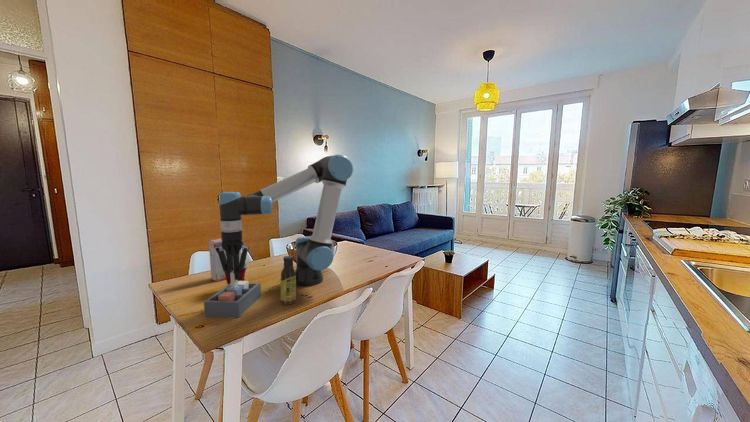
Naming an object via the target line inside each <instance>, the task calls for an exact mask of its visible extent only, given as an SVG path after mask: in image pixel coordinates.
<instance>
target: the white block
mask: <svg viewBox="0 0 750 422" xmlns="http://www.w3.org/2000/svg"><path fill="white" fill-rule="evenodd" d="M249 283H250V281H249V280H244V281H238V286H242V289H249Z"/></svg>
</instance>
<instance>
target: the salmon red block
mask: <svg viewBox="0 0 750 422" xmlns="http://www.w3.org/2000/svg"><path fill="white" fill-rule="evenodd" d="M218 301H235V293H234V292H223V293H222V294H220V295H219V296H218Z"/></svg>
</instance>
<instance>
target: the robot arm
mask: <svg viewBox="0 0 750 422" xmlns="http://www.w3.org/2000/svg"><path fill="white" fill-rule="evenodd" d="M353 172H354V167H353V162H352V161H351V159H350V158H349V157H348V156H347V155H343V154H334V155H328V156H327V155H326V156H324V157H321V159H319V160H318V161H315V162H314V163H312V164H309V165H308V166H307V168H306V169H304V170H302V171H299V172H297V173H294V174H293V175H291V176H287V177H286V178H284V179H282V180H279V181H277V182H275V183H273V184H270V185H268V186H266V187H264V188H261V189H260V190H258V191H255V192H253V193H249V194H247V195H245V196H242V195H241V192H240V191H239V192H238V191H224V192H223V191H222V192H221V193H220V194H219V198H218V199H219V201H218V202H219V219H220V220H219V221H220V230H221V233H220V235H221V236H220V238H221V240H222V243H221V246H220V247H218V248H216V249H215V250H216V251H217V253H218V255H219V258H220V261H221V265H222V268H223V271H227V272H228V278H229V280H231V288H236V287H237V286H238V279H239V278H240V276H239V271H241V270H243V269H244V266H245V263H246V260H247V255H248V252H249V250H250V246H245V245H244V242H243V231H242V229H243V225H242V216H251V215H253V216H254V215H268V214H271V213H272V212H273V203H275V202H276V201H278V200H280V199H283V198H285V197H287V196H289V195H291V194H293V193H296V192H297V191H300V190H302V189H304V188H306V187H308V186H310V185H313V184H314V183H315V184H319V183H322V185H323V186H322V190H321V195H320V196H321V197H320V199H319V204H318V208H317V213H316V216H315V217H316V218H315V221H314V222H315V223H314V226H313V230H312V231H313V232H312V234H311V235H309V236H300V237H299V236H298V237H297V238H296V240H295V249H296V250H295V252H296V253H295V256H296V257H295V258H296V260H295V261H296V266H295V269H294V271H295V274H296V286H297V285H298V286H305V287H306V286H315V285H319V284H320V283H322V282H323V281H324V273H323V271H324V270H326V269H328V268H329V267H330V266H331V265H332V263H333V261H334V253H333V250H332V248H333V244H334V241H332V239H331V238H332V233H333V229H334V224H335V222H336V221H335V220H336V215H337V210H338V207H339V203H340V198H341V192H342V189H344V188H345V187H346V186H347V181H348V180H349V178H351V177H352V175H353ZM224 250H225V252H226V256H227V259H226V256H225V252H224ZM240 250H241V258H240V263H239V251H240ZM233 264H234V269H233ZM233 270H234V271H233Z"/></svg>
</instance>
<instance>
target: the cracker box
mask: <svg viewBox="0 0 750 422" xmlns="http://www.w3.org/2000/svg"><path fill="white" fill-rule="evenodd" d="M221 243H222V240H221V237H220V238H216V239H211V240H208V247H209V248H208V249H209V262H210V263H209V265H210V277H211V280H213V281H215V282H220V281H221V282H222V281H224V280H226V276H225V272H224V271H223V268H222V265H221V261H220V258H219V255H218V253H217V251H216V250H215V249H216V248H218V247H220V246H221ZM224 252H225V250H224ZM241 253H242V249H241V250H240V251H239V262H240V258H241ZM225 256H226V252H225ZM226 259H227V256H226Z"/></svg>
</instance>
